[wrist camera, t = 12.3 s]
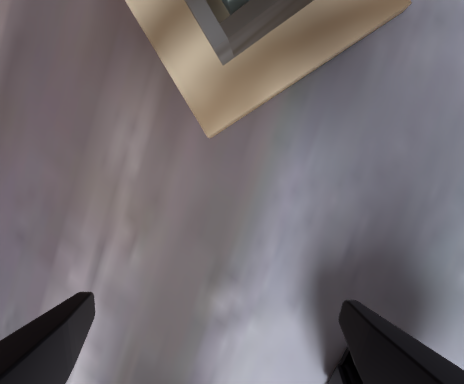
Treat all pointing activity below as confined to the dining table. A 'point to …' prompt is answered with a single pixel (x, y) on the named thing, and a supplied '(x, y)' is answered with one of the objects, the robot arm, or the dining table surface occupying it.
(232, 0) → the rail end post
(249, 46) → the post socket
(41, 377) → the robot arm
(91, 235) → the dining table surface
